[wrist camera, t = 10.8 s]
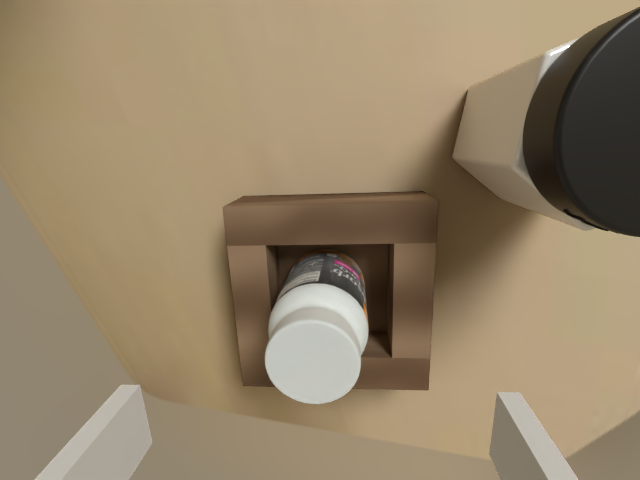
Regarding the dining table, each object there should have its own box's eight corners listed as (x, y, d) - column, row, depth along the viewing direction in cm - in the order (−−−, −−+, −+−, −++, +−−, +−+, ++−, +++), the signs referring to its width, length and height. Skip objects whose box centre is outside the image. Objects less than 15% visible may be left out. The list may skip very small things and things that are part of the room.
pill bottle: (379, 291, 26) (397, 380, 16) (317, 329, 27) (301, 432, 18) (334, 231, 25) (326, 288, 15) (272, 273, 26) (229, 350, 17)
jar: (468, 212, 25) (570, 274, 13) (433, 99, 23) (517, 57, 11) (602, 164, 23) (849, 188, 12) (576, 39, 21) (839, -79, 10)
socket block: (243, 196, 26) (222, 207, 21) (423, 191, 25) (438, 202, 20) (258, 349, 29) (243, 385, 25) (416, 352, 28) (428, 390, 24)
